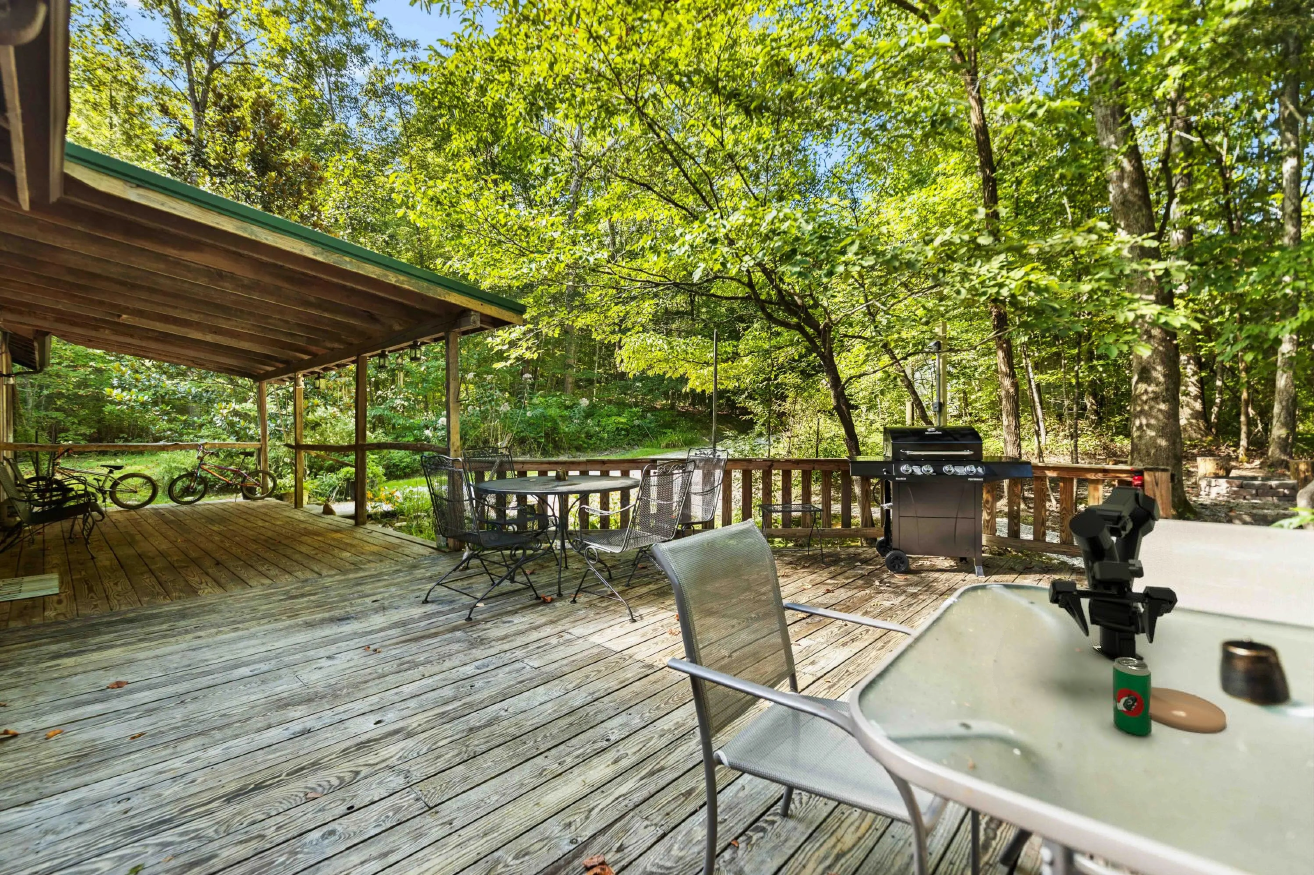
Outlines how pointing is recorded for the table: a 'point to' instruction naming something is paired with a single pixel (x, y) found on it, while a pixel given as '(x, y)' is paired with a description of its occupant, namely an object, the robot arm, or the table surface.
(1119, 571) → the robot arm
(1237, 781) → the table surface
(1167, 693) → the terracotta plate
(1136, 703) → the soda can
